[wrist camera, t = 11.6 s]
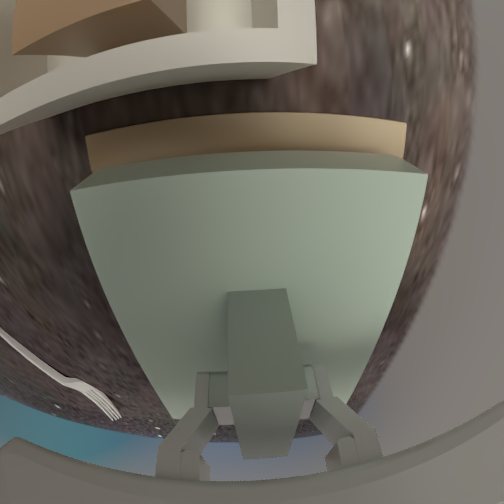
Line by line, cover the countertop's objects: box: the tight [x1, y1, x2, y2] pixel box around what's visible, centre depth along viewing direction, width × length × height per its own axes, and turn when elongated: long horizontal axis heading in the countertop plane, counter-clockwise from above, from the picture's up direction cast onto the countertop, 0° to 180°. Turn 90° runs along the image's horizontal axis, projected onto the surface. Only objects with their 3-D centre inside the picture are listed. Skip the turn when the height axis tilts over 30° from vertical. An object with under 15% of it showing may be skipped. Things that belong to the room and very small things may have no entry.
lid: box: [70, 150, 428, 459], centre depth 11 cm, size 15×11×6 cm
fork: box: [0, 328, 122, 421], centre depth 19 cm, size 3×20×2 cm, turn 42°
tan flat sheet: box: [85, 112, 407, 173], centre depth 15 cm, size 18×14×1 cm
